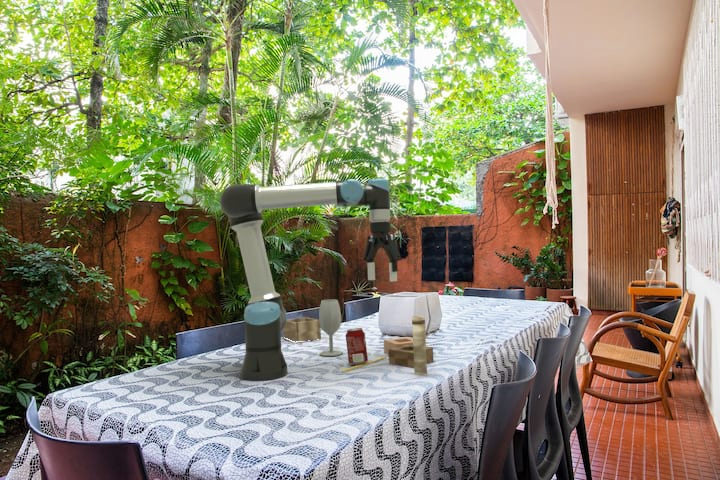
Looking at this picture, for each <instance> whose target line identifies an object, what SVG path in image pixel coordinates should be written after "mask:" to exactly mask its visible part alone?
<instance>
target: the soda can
mask: <svg viewBox="0 0 720 480" xmlns="http://www.w3.org/2000/svg"><path fill="white" fill-rule="evenodd" d="M345 342H346V349H347V351H346V352H347V361H348V364H350V365H351V366H357V365H361V364H365V363H366V362H369V360H368V358H369V357H368V351H367V350H368V349H367V341H366V333H365V332H364V330H363V328H362V327H358V328H357V327H355V328H349V329H346V334H345Z"/></svg>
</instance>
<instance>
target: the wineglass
mask: <svg viewBox="0 0 720 480" xmlns="http://www.w3.org/2000/svg"><path fill="white" fill-rule="evenodd" d="M320 301H321V302H320V305H319V310H318V311H319V312H318V320H319V323H320V326H321V331H323V332H324V333H325V334H327V336H328V340H329V341H328V343H329V344H328V345H329V347H328V348H329V349H328V350H322V351H321V352H319V355H320V356H323V357H336V356H341V355H344V351H342V350H335V349H334V341H333V339H334V334H335V333H337V332H338V330H340V328H341V324H342V313H341V307H340V303H339V300H338V299H323V300H320Z"/></svg>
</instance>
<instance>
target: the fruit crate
mask: <svg viewBox="0 0 720 480" xmlns="http://www.w3.org/2000/svg"><path fill="white" fill-rule="evenodd" d="M286 320H287V321H286V324H285V326H284V328H283V329H282V337H283V338H284V337H285V338H288V339H290V340H292V341H295V342H296V341H308V340H317V339H321V340H322V334H321V333H322V329H321V326H320V323H319V318H318V319H317V318H313V317H307V316H305V317H298V318H297V317H296V318H290V319H289V318H287V319H286ZM283 338H282V339H283ZM317 341H318V340H317Z"/></svg>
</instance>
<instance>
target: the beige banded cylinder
mask: <svg viewBox="0 0 720 480" xmlns="http://www.w3.org/2000/svg"><path fill="white" fill-rule="evenodd" d="M411 325H412V338H413V352H414V368H413V370H414V372H413V373H414V375H416V376H426V375H427V374H428V368H427V366H428V364H427V360H426V347H427V344H426V343H427V340H426V338H427V337H426V335H427V334H426V317H425V316H423V315H414V316H412V317H411ZM425 374H426V375H425Z"/></svg>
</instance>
